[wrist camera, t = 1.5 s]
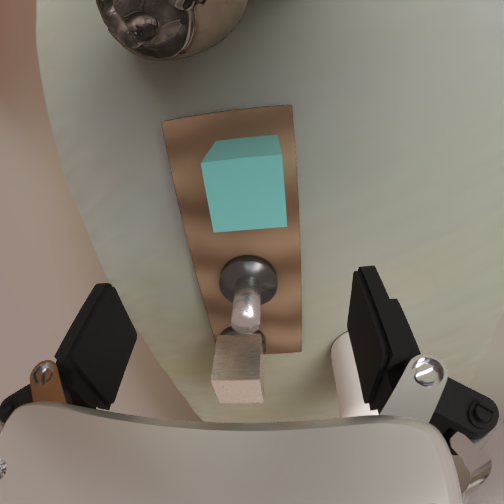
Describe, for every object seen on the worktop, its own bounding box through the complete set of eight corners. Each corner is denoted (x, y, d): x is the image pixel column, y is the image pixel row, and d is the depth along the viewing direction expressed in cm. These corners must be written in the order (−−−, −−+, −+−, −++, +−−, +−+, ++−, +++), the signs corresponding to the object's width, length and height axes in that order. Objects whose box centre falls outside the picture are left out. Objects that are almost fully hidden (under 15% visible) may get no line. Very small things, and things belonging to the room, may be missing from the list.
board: (164, 120, 24) (161, 122, 23) (290, 104, 23) (292, 105, 22) (220, 349, 41) (219, 355, 40) (300, 346, 40) (301, 351, 39)
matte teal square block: (215, 140, 24) (200, 162, 19) (277, 134, 24) (281, 154, 18) (224, 196, 27) (213, 232, 22) (282, 191, 27) (287, 226, 21)
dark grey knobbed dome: (215, 256, 31) (205, 300, 25) (275, 252, 30) (277, 297, 25) (225, 301, 34) (218, 346, 29) (278, 297, 34) (280, 343, 28)
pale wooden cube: (214, 325, 36) (206, 378, 30) (263, 323, 36) (263, 377, 29) (223, 355, 40) (217, 404, 33) (267, 353, 39) (267, 404, 33)
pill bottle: (385, 319, 37) (418, 418, 24) (381, 355, 41) (404, 443, 28) (327, 331, 38) (344, 436, 25) (331, 365, 42) (343, 457, 30)
